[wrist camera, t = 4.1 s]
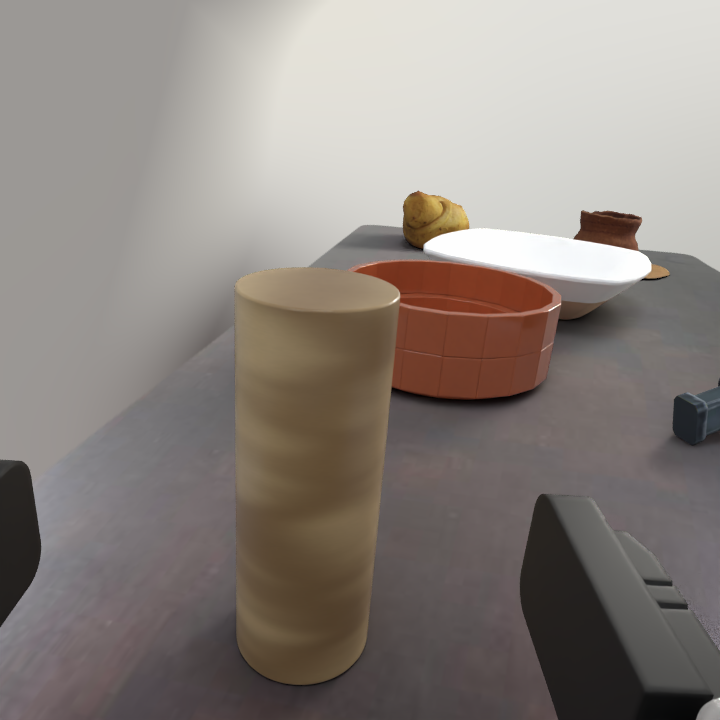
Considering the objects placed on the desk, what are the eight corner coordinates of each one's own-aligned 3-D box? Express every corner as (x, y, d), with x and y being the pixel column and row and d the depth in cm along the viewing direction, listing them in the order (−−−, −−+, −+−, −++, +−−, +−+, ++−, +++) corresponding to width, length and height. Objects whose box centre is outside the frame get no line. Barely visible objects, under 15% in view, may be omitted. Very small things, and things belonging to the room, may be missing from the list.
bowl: (648, 297, 68) (659, 251, 66) (625, 351, 50) (640, 289, 48) (466, 265, 77) (471, 224, 76) (392, 301, 60) (397, 247, 58)
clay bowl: (334, 399, 38) (339, 306, 35) (340, 323, 52) (345, 254, 50) (575, 414, 38) (595, 323, 36) (516, 335, 52) (528, 266, 50)
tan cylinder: (224, 682, 18) (217, 303, 14) (248, 580, 22) (249, 262, 18) (368, 689, 19) (406, 315, 14) (366, 587, 23) (395, 272, 18)
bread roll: (401, 234, 96) (406, 182, 93) (462, 240, 95) (469, 187, 92) (398, 250, 84) (404, 190, 81) (468, 256, 83) (476, 196, 81)
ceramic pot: (554, 246, 96) (563, 200, 94) (676, 265, 88) (689, 216, 85) (519, 262, 82) (528, 209, 79) (661, 288, 73) (676, 229, 71)
